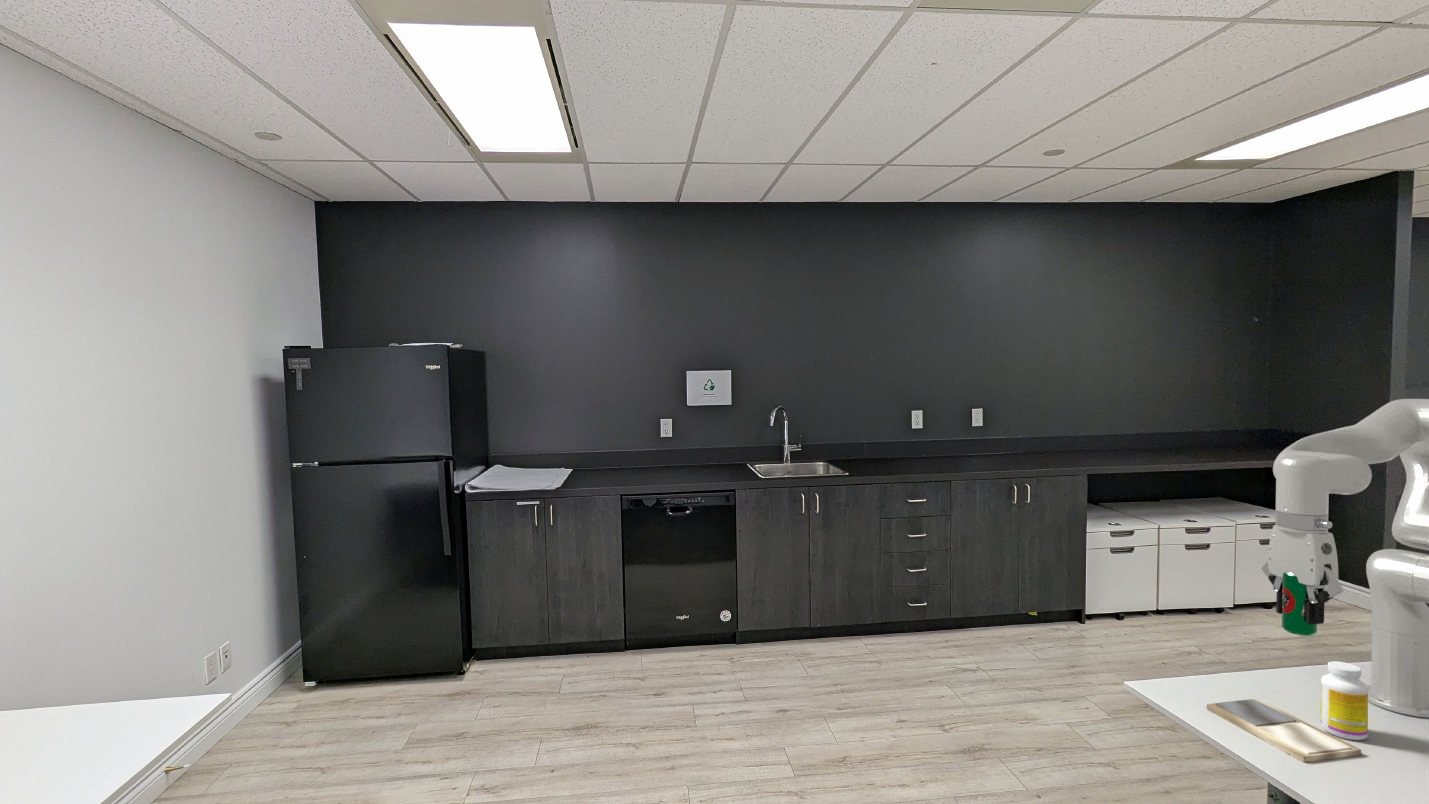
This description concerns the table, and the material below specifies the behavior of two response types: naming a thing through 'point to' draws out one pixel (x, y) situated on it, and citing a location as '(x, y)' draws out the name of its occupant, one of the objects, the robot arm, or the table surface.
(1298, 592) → the soda can
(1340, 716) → the supplement bottle
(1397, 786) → the table surface
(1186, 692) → the table surface
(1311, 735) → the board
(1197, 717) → the table surface
